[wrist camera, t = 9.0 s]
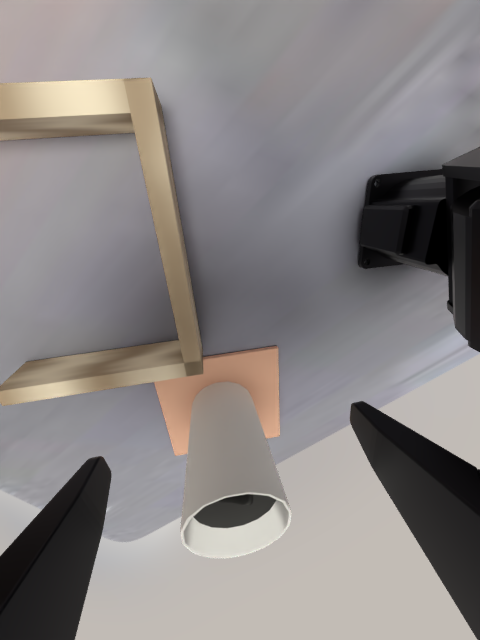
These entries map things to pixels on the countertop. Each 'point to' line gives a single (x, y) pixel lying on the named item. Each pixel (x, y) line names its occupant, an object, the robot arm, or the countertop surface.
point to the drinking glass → (230, 478)
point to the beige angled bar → (148, 125)
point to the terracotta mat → (238, 367)
